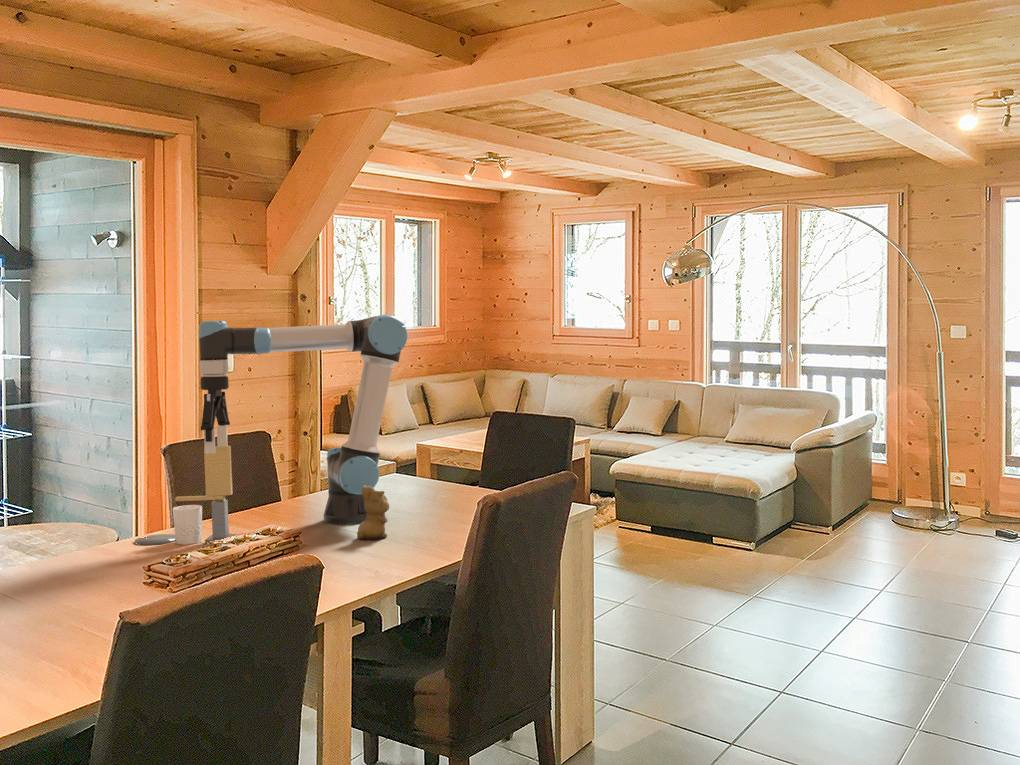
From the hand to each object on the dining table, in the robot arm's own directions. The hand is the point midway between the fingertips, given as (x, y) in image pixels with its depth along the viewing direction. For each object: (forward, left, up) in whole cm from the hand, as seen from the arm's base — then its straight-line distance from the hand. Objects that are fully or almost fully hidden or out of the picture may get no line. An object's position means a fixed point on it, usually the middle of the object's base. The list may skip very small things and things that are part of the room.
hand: (216, 450), depth 259 cm
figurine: (-44, +3, -26) cm, 51 cm away
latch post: (0, 0, -26) cm, 26 cm away
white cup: (+9, 0, -26) cm, 27 cm away
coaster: (+19, -4, -26) cm, 32 cm away
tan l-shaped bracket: (+4, 0, -14) cm, 15 cm away
